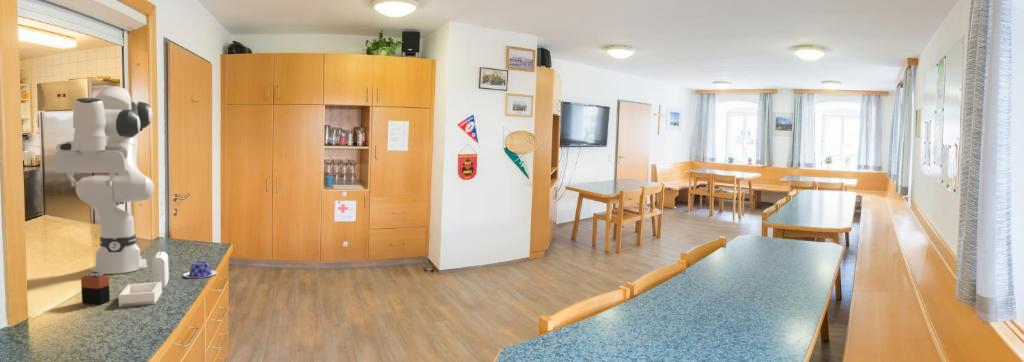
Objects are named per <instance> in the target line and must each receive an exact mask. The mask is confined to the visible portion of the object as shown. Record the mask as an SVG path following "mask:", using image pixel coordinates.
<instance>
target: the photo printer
mask: <svg viewBox="0 0 1024 362" xmlns="http://www.w3.org/2000/svg"><path fill="white" fill-rule="evenodd" d="M169 275H170V274H169V255H168V253H167V252H165V251H158V252H156V253H155V254H154V256H153V258H152V283H155V282H162V289H163V288H165V287H166V286H167V284H169V283H168V282H169V280H170V279H169V278H170V276H169Z"/></svg>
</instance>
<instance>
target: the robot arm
mask: <svg viewBox="0 0 1024 362" xmlns="http://www.w3.org/2000/svg"><path fill="white" fill-rule="evenodd" d="M72 111H73V113H72V127H73V128H74V133H73V140H70V141H67V142H63V143H58V144H56V145H55V148H56V152H55V153H54V156H53V160H52V171H54V172H55V173H57V174H58V173H59V174H66V177H67V179H68V180H69V181H70V184H71V185H70V186H71V187H75V193H76V194H77V197H78V198H79V199H80V200H81V201H82V202H84V203H86V204H88V205H89V206H90V207H91V208H92V209H93V210H94V212H96V214H97V216H98V219H99V226H100V234H101V235H100V238H99V246H100V247H99V248H98V249H97V250H96V252H95V267H93V268H91V269H90V273H97V274H98V273H102V274H103V275H111V274H114V275H115V274H123V273H124V274H125V273H129V272H134V271H139V270H143V269H147V267H148V265H147V259H146V258H143V256H142V255H141V249H140V247H139V245H138V244H137V242H138V241H137V235H136V233H135V218H134V216H133V215H132V213H130V212H128V211H126V210H123V209H121V208H119V207H118V206H117V204H116V203H134V202H135V203H136V202H142V201H147V200H149V199H151V197H152V196H153V195H154V192H155V184H154V182H153V180H152V179H151V178H150V177H148V176H147V175H146V174H144V173H143V172H141V171H140V168H139V167H138V150H139V138H138V134H139V133H140V132H142V131H143V130H144V129H146V128H147V127H149V126H150V125H151V123H152V121H153V117H154V114H153V110H152V107H151V105H150V104H149V103H146V102H144V101H143V102H142V101H133V100H132V96H131V93H130V92H129V91H128V90H127V89H125V88H124V87H121V86H120V85H119V86H118V85H111V86H108V87H105V88H104V89H102V90H101V91H100V92H98V93H97V94H96V96H95V97H80V98H77V99H75V100H74V103H73V110H72ZM82 173H83V174H91V173H93V174H94V173H95V174H96V173H98V174H96V175H90V176H83V177H81V179H79V180H75V178H74V177H73V176H75V174H82ZM99 173H100V174H99ZM103 173H104V174H103ZM105 173H107V174H108V175H107V174H105ZM101 174H102V175H101Z"/></svg>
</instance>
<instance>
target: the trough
mask: <svg viewBox="0 0 1024 362" xmlns="http://www.w3.org/2000/svg"><path fill="white" fill-rule="evenodd" d="M162 294H163V288H162V282H155V283H153V282H144V283H143V282H142V283H131V284H130V283H129V284H127V285H126V286H125V287H124V289H122V291H120V293H119V294H118V307H119V308H122V307H136V306H146V305H147V306H148V305H155V304H156V303H157V301H158V300H159V298H160V297H161V295H162Z"/></svg>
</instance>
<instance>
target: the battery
mask: <svg viewBox="0 0 1024 362" xmlns="http://www.w3.org/2000/svg"><path fill="white" fill-rule="evenodd" d="M109 277H110V276H109V275H108V274H102V273H98V272H97V273H95V274H94V272H89V273H87V275H85V276H82V277H80V284H81V285H80V286H81V287H80V288H81V303H82V304H83V303H84V305H93V304H95V306H100V305H103V304H106V303H109V302H111V299H110V278H109Z"/></svg>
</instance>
